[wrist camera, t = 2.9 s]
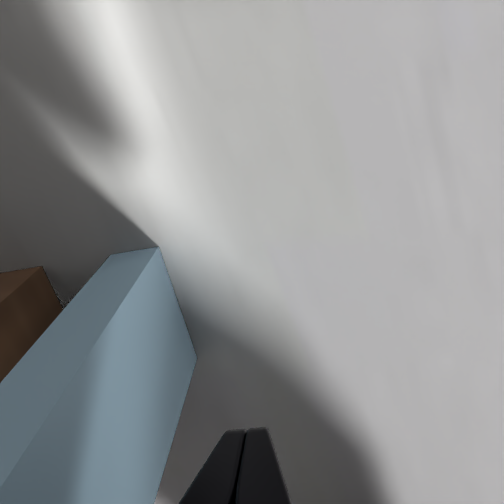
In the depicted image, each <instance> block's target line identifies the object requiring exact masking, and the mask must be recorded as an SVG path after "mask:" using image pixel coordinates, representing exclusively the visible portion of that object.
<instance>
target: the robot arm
mask: <svg viewBox="0 0 504 504" xmlns="http://www.w3.org/2000/svg"><path fill="white" fill-rule="evenodd" d="M179 504H292V503H291V500H290V497H289V494H288V490H287V487H286V484H285V481H284V478H283V475H282V471H281V468H280V465H279V462H278V459H277V455H276V452H275V449H274V446H273V443H272V440H271V436H270V433H269V430H268V429H267V428H266V427H260V428H250V429H248V431H247V430H245V429H236V430H228V431H226V432H225V433H224V435H223V436H222V438H221V439H220V441H219V442H218V444H217V445H216V447H215V448H214V450H213V452H212V453H211V455H210V456H209V458H208V459H207V461H206V462H205V464H204V465H203V467H202V469H201V470H200V472H199V473H198V475H197V476H196V478H195V479H194V481H193V482H192V484H191V486H190V487H189V489H188V490H187V492H186V493H185V495H184V496H183V498H182V499H181V501H180V502H179Z"/></svg>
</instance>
